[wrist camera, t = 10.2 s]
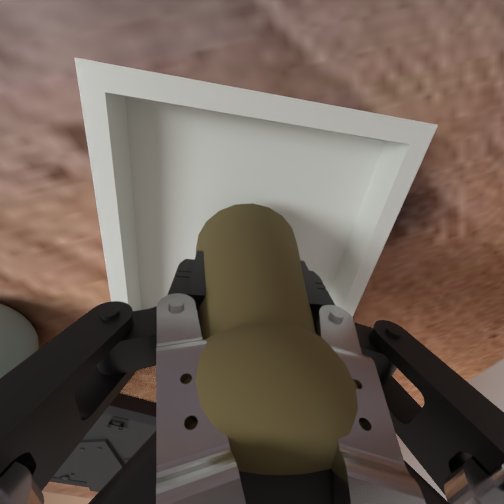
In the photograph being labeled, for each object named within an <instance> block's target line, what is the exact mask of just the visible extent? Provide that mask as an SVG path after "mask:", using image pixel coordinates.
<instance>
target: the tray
mask: <svg viewBox="0 0 504 504" xmlns="http://www.w3.org/2000/svg"><path fill="white" fill-rule="evenodd" d="M75 64H76V71H77V78H78V84H79V91H80V98H81V104H82V111H83V117H84V124H85V131H86V137H87V144H88V151H89V157H90V164H91V171H92V177H93V184H94V190H95V197H96V204H97V210H98V217H99V224H100V230H101V237H102V244H103V250H104V257H105V264H106V270H107V277H108V283H109V290H110V297H111V302H112V301H120V302H125V303H127V304H129V305H130V306H131V307H132V310H133V311H138V310H145V309H150V308H153V307H155V306H157V303H158V302H159V300H160V299H161V298H163V297H165V296H167V295H168V292H169V289H170V287H171V284H172V281H173V279H174V277H175V273H176V272H177V268H178V265H179V264H180V263H181V262H182V261H183V260H185V259H193V260H195V257H196V245H197V240H198V235H199V233H200V231H201V230H202V228H203V226H204V225H205V223H206V221H207V220H209V219H210V218H211V217H212V216H214V215H215V214H216V213H217V212H218V211H220V210H223V209H225V208H228V207H230V206H233V205H236V204H251V203H253V204H257V205H261V206H265V207H269V208H271V209H272V210H274V211H275V212H277V213H279V214H280V215H282V216H283V217H284V218H285V220H286V221H287V222H288V223H289V225H290V226H291V227H292V229H293V232H294V235H295V238H296V242H297V246H298V251H299V255H300V260H302V261H304V262H305V264H306V266H307V268H308V270H310V271H314V272H315V273H316V274H317V275H318V276H319V277H320V278H321V280H322V282H323V284H324V285H325V287H326V290H327V291H328V293H329V295H330V296H331V298H332V300H333V302H334V304H335V305H336V306H338V307H340V308H342V309H344V310H346V311H347V312H348V313H349V314H350V315H351V316H352V317H353V315H354V313H355V310H356V308H357V306H358V304H359V301H360V299H361V297H362V295H363V292H364V290H365V288H366V286H367V283H368V281H369V279H370V277H371V274H372V272H373V270H374V268H375V265H376V263H377V261H378V259H379V256H380V254H381V252H382V250H383V248H384V245H385V243H386V241H387V239H388V236H389V234H390V232H391V230H392V227H393V225H394V223H395V221H396V218H397V216H398V214H399V212H400V209H401V207H402V205H403V203H404V200H405V198H406V196H407V194H408V191H409V189H410V187H411V185H412V182H413V180H414V178H415V176H416V174H417V171H418V169H419V167H420V165H421V162H422V160H423V158H424V156H425V153H426V151H427V149H428V147H429V144H430V142H431V140H432V138H433V135H434V133H435V131H436V129H437V126H438V125H436V124H431V123H425V122H420V121H415V120H409V119H404V118H398V117H393V116H388V115H382V114H377V113H371V112H366V111H361V110H355V109H350V108H344V107H339V106H334V105H328V104H323V103H317V102H312V101H307V100H301V99H296V98H290V97H285V96H280V95H274V94H269V93H263V92H258V91H253V90H247V89H242V88H236V87H231V86H226V85H220V84H215V83H209V82H204V81H199V80H193V79H188V78H182V77H177V76H172V75H166V74H161V73H155V72H150V71H145V70H139V69H134V68H128V67H123V66H118V65H112V64H107V63H101V62H96V61H91V60H85V59H80V58H75Z"/></svg>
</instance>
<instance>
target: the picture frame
mask: <svg viewBox="0 0 504 504" xmlns="http://www.w3.org/2000/svg"><path fill="white" fill-rule="evenodd" d="M155 431H156V403H154V402H150V401H146V400H143V399H139V398H135V397H131V396H128V395H124V394H120V393H119V394H118V395H117V396H116V398H115V399H114V400H113V401H112V403H111V404H110V405H109V406H108V408H107V409H106V410H105V411H104V413H103V414H102V415H101V416H100V418H99V419H98V420H97V422H96V423H95V424H94V425H93V427H92V428H91V429H90V430H89V432H88V433H87V434H86V435H85V437H84V438H83V439H82V441H81V442H80V443H79V444H78V446H77V447H76V448H75V449H74V451H73V452H72V453H71V454H70V456H69V457H68V458H67V459H66V461H65V462H64V463H63V465H62V466H61V467H60V468H59V470H58V471H57V472H56V473H55V475H54V476H53V477H52V478H51V480H50V482H57V483H63V484H70V485H77V486H84V487H89V489H90V491H95V492H100V491H101V489H102V488H103V487H104V486H105V485H106V484H107V483H108V482H109V481H110V480H111V479H112V478H113V477H114V475H115V474H116V473H117V472H118V471H119V470H120V469H121V468H122V467H123V466H124V465H125V464H126V462H127V461H128V460H129V459H130V458H131V457H132V456H133V455H134V454H135V453H136V452H137V451H138V450H139V448H140V447H141V446H142V445H143V444H144V443H145V442H146V441H147V440H148V439H149V438H150V437H151V436H152V434H153V433H154V432H155Z"/></svg>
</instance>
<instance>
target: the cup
mask: <svg viewBox="0 0 504 504" xmlns="http://www.w3.org/2000/svg"><path fill="white" fill-rule="evenodd" d="M38 348H39V339H38V335H37V332H36V330H35V328H34V327H33V325H32V324H31V323H30V322H29V320H28V319H26V318H25V317H24V316H23V315H22V314H20V313H19V312H18V311H16V310H14V309H12V308H10V307H8V306H5V305H2V304H0V378H2V377H3V376H4V375H5V374H7V373H8V372H9V371H11V370H12V369H13V368H15V367H16V366H17V365H19V364H20V363H21V362H23V361H24V360H25V359H27V358H28V357H29V356H31V355H32V354H33V353H35V352H36V351H37V350H38Z"/></svg>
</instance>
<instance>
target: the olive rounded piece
mask: <svg viewBox="0 0 504 504" xmlns="http://www.w3.org/2000/svg"><path fill="white" fill-rule="evenodd" d="M197 250H201V251H203V252H204V266H205V280H206V291H205V298H204V300H203V301H202V303H201V304H200V306H199V309H198V319H199V324H200V329H201V334H202V339H206V341H207V343H206V345H205V347H204V349H203V351H202V353H201V355H200V356H199V361H198V366H197V372H196V378H195V382H196V387H197V392H198V397H199V402H200V407H201V408H202V410H203V411H204V413H205V414H206V416H207V417H208V419H209V420H210V422H211V423H212V425H213V426H214V427H215V428H216V429H217V430H218V431H219V432H220V433H221V434H224V435H227V436H228V441H229V445H230V449H231V452H232V454H233V456H234V459H235V461H236V464H237V468H238V471H242V472H248V473H254V474H261V475H298V474H307V473H313V472H318V471H324V470H327V469H331V464H332V462H333V459H334V456H335V453H336V448H337V442H338V439H340V438H342V437H345V436H347V435H349V434H350V432H351V429H352V426H353V423H354V420H355V417H356V414H357V411H358V404H357V395H356V388H357V389H359V387H358V385H357V384H356V383H355V381H354V380H353V379H352V377H351V375H350V373H349V371H348V369H347V367H346V365H345V363H344V362H343V361H342V359H341V358H340V357H339V356H338V355H337V353H336V352H335V351H334V350H333V349H332V347H331V346H330V345H329V344H328V343H327V342H326V341H325V340H324V339H323V338H322V337H320V336H318V335H317V334H316V330H315V325H314V320H313V316H312V312H311V309H310V306H309V302H308V297H307V292H306V287H305V282H304V277H303V273H302V268H301V263H300V255H299V251H298V246H297V242H296V238H295V235H294V232H293V229H292V227H291V226H290V225H289V223H288V222H287V221H286V220H285V218H284V217H283V216H282V215H280V214H279V213H277V212H275V211H274V210H272V209H271V208H269V207H265V206H261V205H257V204H253V203H251V204H236V205H233V206H230V207H228V208H225V209H223V210H220V211H218V212H217V213H216V214H215V215H214V216H212V217H211V218H210V219H209V220H207V221H206V223H205V225H204V226H203V228H202V230H201V231H200V233H199V235H198V240H197V245H196V253H197ZM191 380H192V379H191V378H189V379H187V380H185V381H184V382H183V384H188V383H190V382H191ZM359 424H360V426H361V427H362V428H363V426H362V424H361V422H360V421H359ZM196 426H197V425H196V424H195V423H192V424H191V425H189V426H188V428H187V429H188V430H193V429H194V428H196Z"/></svg>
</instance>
